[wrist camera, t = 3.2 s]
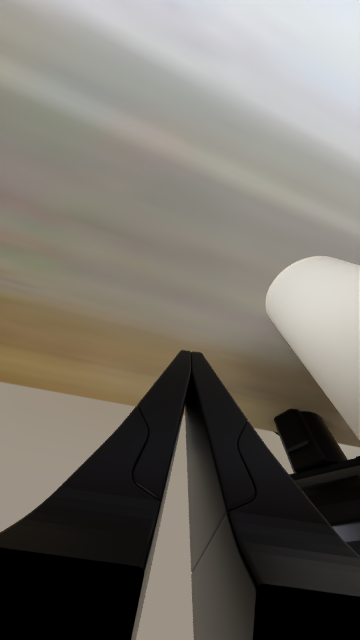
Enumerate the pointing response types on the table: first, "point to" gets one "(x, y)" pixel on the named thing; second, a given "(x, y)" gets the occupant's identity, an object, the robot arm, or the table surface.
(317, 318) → the cylindrical container
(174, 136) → the table surface
